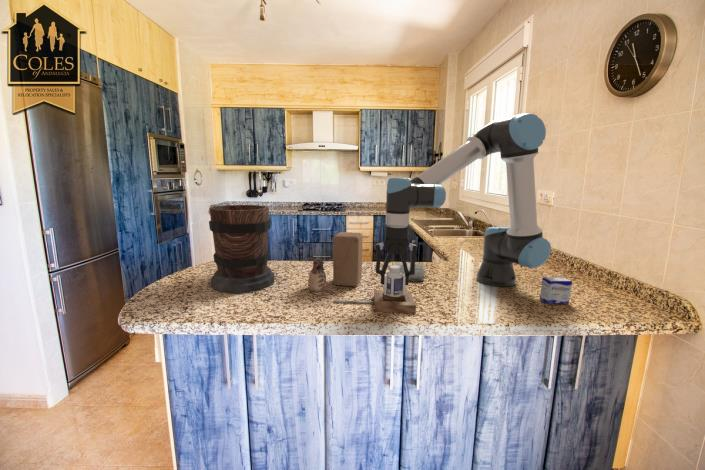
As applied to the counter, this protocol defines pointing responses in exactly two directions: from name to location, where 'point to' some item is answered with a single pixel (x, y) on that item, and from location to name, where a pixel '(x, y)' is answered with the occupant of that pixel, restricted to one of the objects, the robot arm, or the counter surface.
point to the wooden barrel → (241, 248)
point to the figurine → (317, 277)
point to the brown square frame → (389, 302)
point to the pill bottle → (394, 281)
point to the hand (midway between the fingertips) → (394, 293)
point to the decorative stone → (418, 271)
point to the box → (555, 290)
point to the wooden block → (347, 259)
